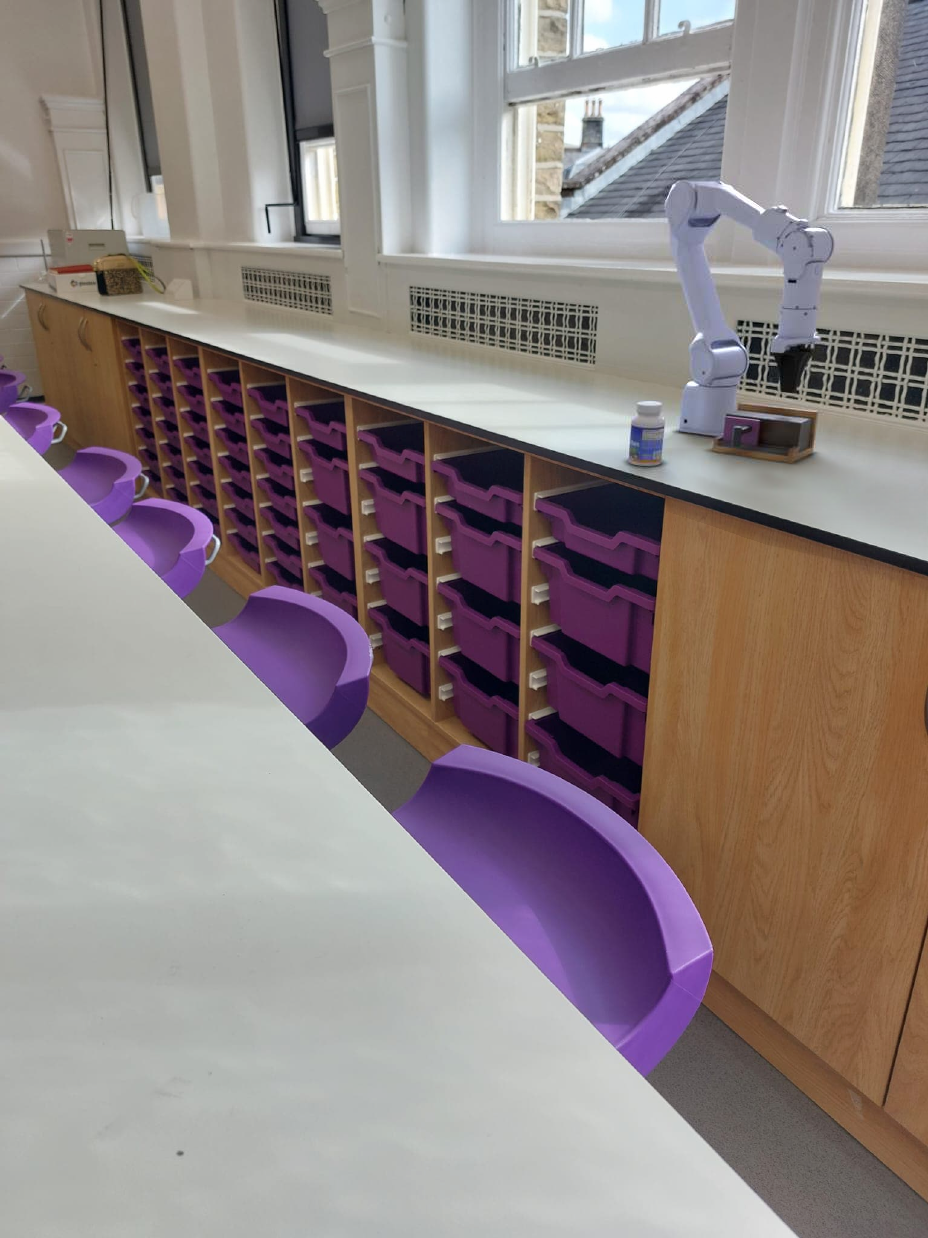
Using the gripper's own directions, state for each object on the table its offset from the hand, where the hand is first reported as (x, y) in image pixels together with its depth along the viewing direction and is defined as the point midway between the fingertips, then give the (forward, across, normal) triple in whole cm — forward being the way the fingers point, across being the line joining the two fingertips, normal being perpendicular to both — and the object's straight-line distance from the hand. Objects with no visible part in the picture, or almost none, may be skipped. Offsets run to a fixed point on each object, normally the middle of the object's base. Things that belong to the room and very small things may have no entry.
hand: (788, 391), depth 149 cm
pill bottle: (+10, -24, +13) cm, 29 cm away
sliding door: (+8, -11, +4) cm, 14 cm away
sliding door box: (+9, -6, +1) cm, 11 cm away
